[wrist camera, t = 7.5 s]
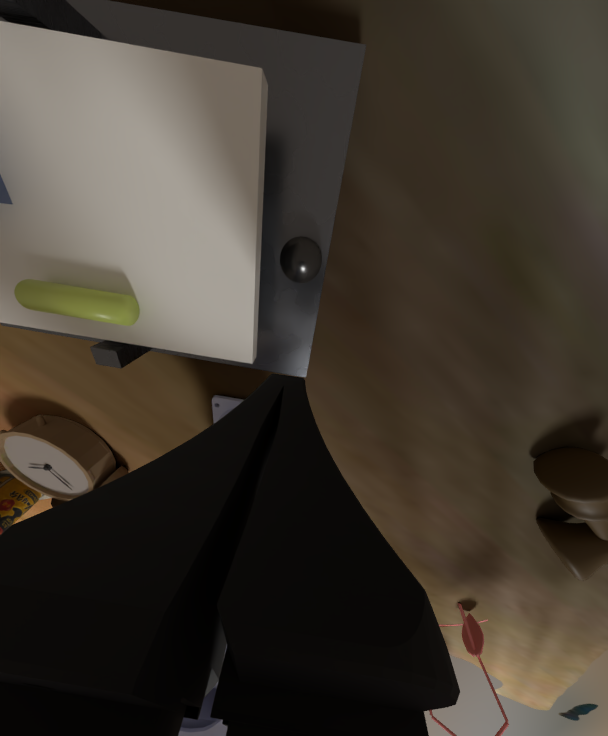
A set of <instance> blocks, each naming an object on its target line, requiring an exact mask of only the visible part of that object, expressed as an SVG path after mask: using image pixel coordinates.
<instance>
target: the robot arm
mask: <svg viewBox="0 0 608 736" xmlns="http://www.w3.org/2000/svg"><path fill="white" fill-rule="evenodd" d="M216 403H217V404H219V405H217V404H216ZM212 410H213V422H214V424H213V425H211V426H210V427H209V428H207V429H206V430H204V431H203V432H201V433H200V434H198V435H196V436H195V437H193V438H192V439H190V440H188V441H187V442H185V443H183V444H182V445H180V446H178V447H177V448H175V449H173V450H171V451H170V452H168V453H166V454H164V455H163V456H161V457H159V458H157V459H155V460H154V461H152V462H150V463H148V464H146V465H144V466H142V467H140V468H138V469H136V470H134V471H132V472H130V473H128V474H126V475H124V476H122V477H120V478H118V479H116V480H114V481H112V482H109V483H107V484H105V485H103V486H101V487H99V488H97V489H94V490H92V491H90V492H88V493H86V494H83V495H81V496H79V497H76V498H74V499H72V500H69V501H67V502H65V503H63V504H60V505H58V506H56V507H53V508H51V509H49V510H46V511H44V512H42V513H40V514H37V515H35V516H33V517H30V518H28V519H25V520H23V521H21V522H18V523H16V524H13V525H11V526H10V527H9V528H8V529H7V530H5V531H4V532H3V533H2V534H1V535H0V736H429V735H428V731H427V726H426V721H425V716H424V711H427V710H433V709H439V708H445V707H449V706H452V705H455V704H456V702H457V699H458V696H459V693H460V690H459V686H458V683H457V679H456V676H455V673H454V669H453V666H452V662H451V659H450V656H449V652H448V649H447V646H446V643H445V641H444V638H443V635H442V633H441V630H440V627H439V625H438V622H437V619H436V617H435V614H434V612H433V609H432V606H431V604H430V601H429V599H428V596H427V594H426V591H425V590H424V588H423V587H422V586H421V584H420V583H419V582H418V581H417V579H416V578H415V577H414V576H413V574H412V573H411V572H410V571H409V569H408V568H407V567H406V565H405V564H404V563H403V562H402V560H401V559H400V558H399V557H398V555H397V554H396V553H395V551H394V550H393V549H392V547H391V546H390V545H389V543H388V542H387V541H386V539H385V538H384V537H383V535H382V534H381V533H380V531H379V530H378V528H377V527H376V526H375V524H374V523H373V521H372V520H371V519H370V517H369V516H368V514H367V513H366V511H365V510H364V509H363V507H362V506H361V504H360V502H359V501H358V499H357V498H356V496H355V495H354V493H353V492H352V490H351V488H350V487H349V485H348V484H347V482H346V481H345V479H344V478H343V476H342V474H341V473H340V471H339V469H338V467H337V465H336V464H335V462H334V460H333V458H332V456H331V454H330V453H329V451H328V449H327V447H326V445H325V443H324V440H323V438H322V436H321V434H320V431H319V429H318V427H317V424H316V422H315V419H314V416H313V413H312V410H311V407H310V404H309V401H308V397H307V393H306V387H305V380H304V379H303V378H300V377H293V376H286V375H279V374H271V375H270V376H269V377H268V378H267V379H266V380H265V381H264V382H263V383H262V384H261V385H260V386H259V387H258V388H257V389H256V390H255V391H254V392H253V393H251V394H250V395H249V396H248V397H247V398H246V399H245V400H243V399H237V398H231V397H225V396H219V395H215V396H214V397H213V398H212Z"/></svg>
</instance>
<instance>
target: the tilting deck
mask: <svg viewBox="0 0 608 736" xmlns="http://www.w3.org/2000/svg"><path fill="white" fill-rule="evenodd" d="M267 99H268V84H267V81H266V78H265V75H264V72H263V70H262V68H259V67H253V66H247V65H242V64H236V63H231V62H225V61H220V60H214V59H209V58H203V57H198V56H192V55H187V54H181V53H175V52H170V51H164V50H159V49H153V48H148V47H142V46H137V45H131V44H126V43H120V42H115V41H109V40H103V39H98V38H92V37H87V36H81V35H76V34H70V33H65V32H59V31H54V30H48V29H43V28H37V27H31V26H26V25H20V24H15V23H9V22H4V21H0V322H1V323H7V324H13V325H19V326H25V327H31V328H37V329H43V330H49V331H55V332H62V333H68V334H74V335H80V336H86V337H92V338H98V339H104V340H110V341H116V342H122V343H128V344H135V345H141V346H147V347H153V348H159V349H165V350H171V351H177V352H183V353H189V354H195V355H201V356H207V357H214V358H220V359H226V360H232V361H238V362H244V363H250V364H253V362H254V360H255V358H256V355H257V332H258V309H259V285H260V262H261V239H262V215H263V192H264V169H265V145H266V122H267Z"/></svg>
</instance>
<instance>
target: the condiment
mask: <svg viewBox="0 0 608 736" xmlns="http://www.w3.org/2000/svg"><path fill="white" fill-rule="evenodd" d="M47 498H52V497H49V496H46V495H44V494H42V493H40V492H38V491H36V490H34V489H32V488H30V487H28V486H27V485H25V484H24V483H22V482H21V481H19V480H18V479H17V478H16V477H14V476H13V475H12V474H11V473H10V472H9V471H8V470H5V471H0V535H1V534H2V533H3V532H4V531H5V530H7V529H8V528H9V527H10V526H11V525H12V524H13V523H15V521H17V520H18V519H19V518H20V517H21V516H22V515H23V514H24V513H26V512H27V511H28V510H29V509H30V508H31V507H32V506H33V505H34V504H35V503H36V502H37V501H38V500H41V499H47Z"/></svg>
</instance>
